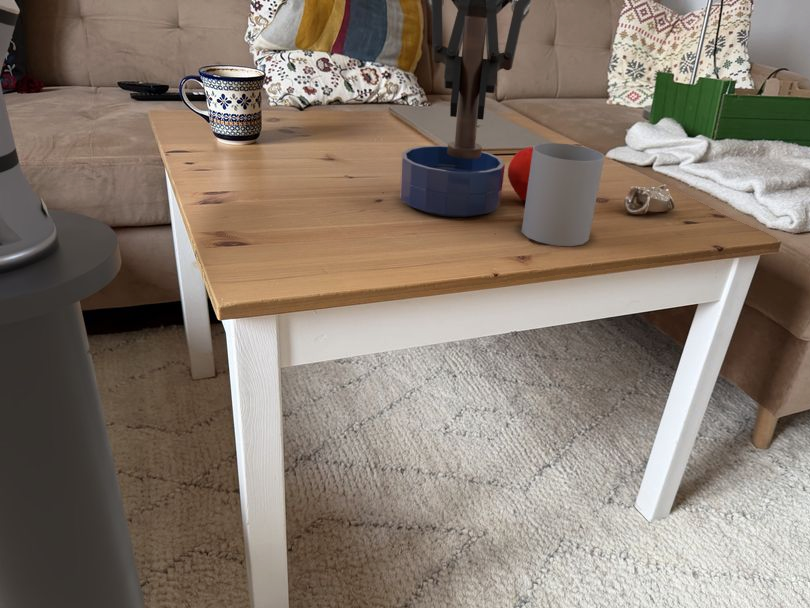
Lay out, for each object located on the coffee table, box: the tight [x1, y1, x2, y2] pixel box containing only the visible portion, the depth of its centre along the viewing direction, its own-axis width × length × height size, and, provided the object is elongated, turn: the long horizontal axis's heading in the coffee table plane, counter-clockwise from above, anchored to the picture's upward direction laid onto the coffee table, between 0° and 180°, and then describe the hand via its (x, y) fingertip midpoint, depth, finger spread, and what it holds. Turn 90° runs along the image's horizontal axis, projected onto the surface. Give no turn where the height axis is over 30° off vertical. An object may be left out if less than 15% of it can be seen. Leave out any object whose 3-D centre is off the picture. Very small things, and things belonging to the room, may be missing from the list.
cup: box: [521, 142, 605, 247], centre depth 80 cm, size 8×8×10 cm
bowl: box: [399, 145, 506, 218], centre depth 88 cm, size 13×13×6 cm
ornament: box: [623, 183, 676, 216], centre depth 94 cm, size 8×7×4 cm
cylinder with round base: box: [447, 16, 487, 159], centre depth 82 cm, size 4×4×16 cm
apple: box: [507, 146, 533, 203], centre depth 92 cm, size 8×8×7 cm
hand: (467, 110), depth 80 cm, fingers closed on cylinder with round base, 3 cm apart
